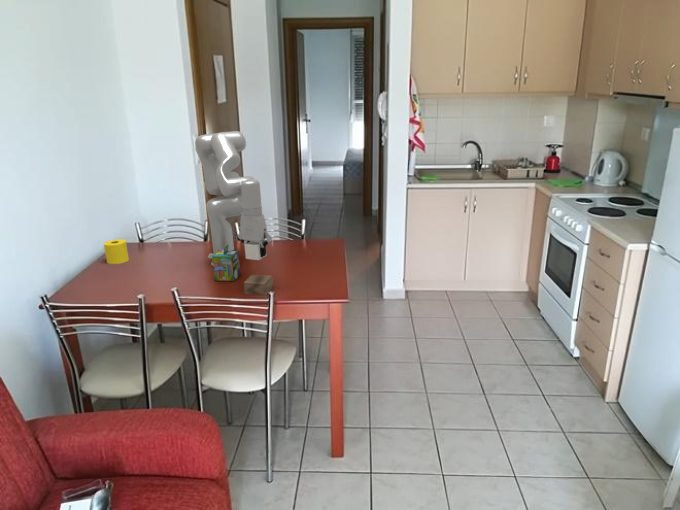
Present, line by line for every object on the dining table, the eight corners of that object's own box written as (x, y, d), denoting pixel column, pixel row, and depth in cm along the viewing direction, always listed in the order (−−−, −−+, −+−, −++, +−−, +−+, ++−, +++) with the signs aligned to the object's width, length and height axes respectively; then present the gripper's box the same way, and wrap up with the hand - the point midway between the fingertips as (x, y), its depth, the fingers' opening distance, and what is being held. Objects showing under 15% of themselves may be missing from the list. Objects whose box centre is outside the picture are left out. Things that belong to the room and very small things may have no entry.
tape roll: (119, 264, 252) (115, 246, 249) (102, 263, 256) (98, 244, 253) (133, 258, 261) (130, 240, 258) (116, 256, 265) (113, 238, 262)
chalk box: (221, 273, 236) (217, 242, 231) (241, 274, 235) (238, 242, 230) (214, 281, 227) (210, 248, 223) (234, 281, 226) (231, 248, 221)
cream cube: (245, 258, 210) (244, 244, 208) (254, 254, 215) (252, 240, 213) (258, 260, 208) (257, 245, 206) (266, 255, 213) (265, 241, 211)
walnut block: (244, 294, 213) (243, 282, 211) (252, 286, 221) (251, 274, 220) (265, 295, 211) (264, 283, 209) (273, 287, 219) (272, 275, 218)
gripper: (228, 212, 206) (232, 256, 211) (266, 215, 199) (270, 260, 205) (239, 208, 212) (243, 250, 218) (276, 210, 205) (279, 254, 211)
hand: (256, 255), depth 211 cm, fingers closed on cream cube, 6 cm apart
